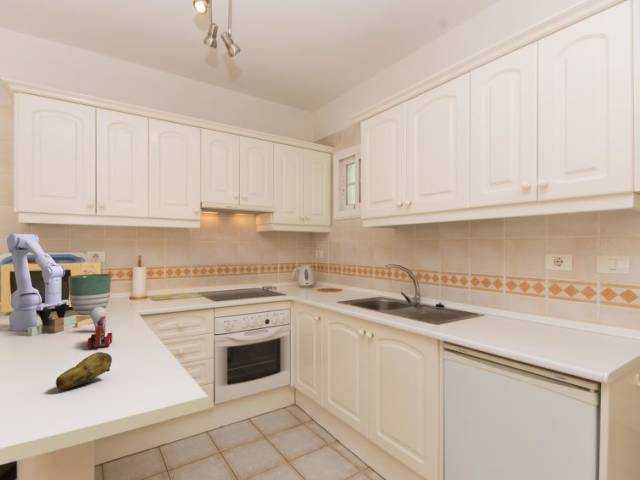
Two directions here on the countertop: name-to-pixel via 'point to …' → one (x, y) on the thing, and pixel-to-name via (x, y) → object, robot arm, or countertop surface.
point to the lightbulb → (97, 315)
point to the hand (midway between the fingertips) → (53, 323)
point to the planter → (89, 292)
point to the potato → (85, 371)
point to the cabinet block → (54, 325)
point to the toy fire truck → (100, 335)
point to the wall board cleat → (77, 319)
